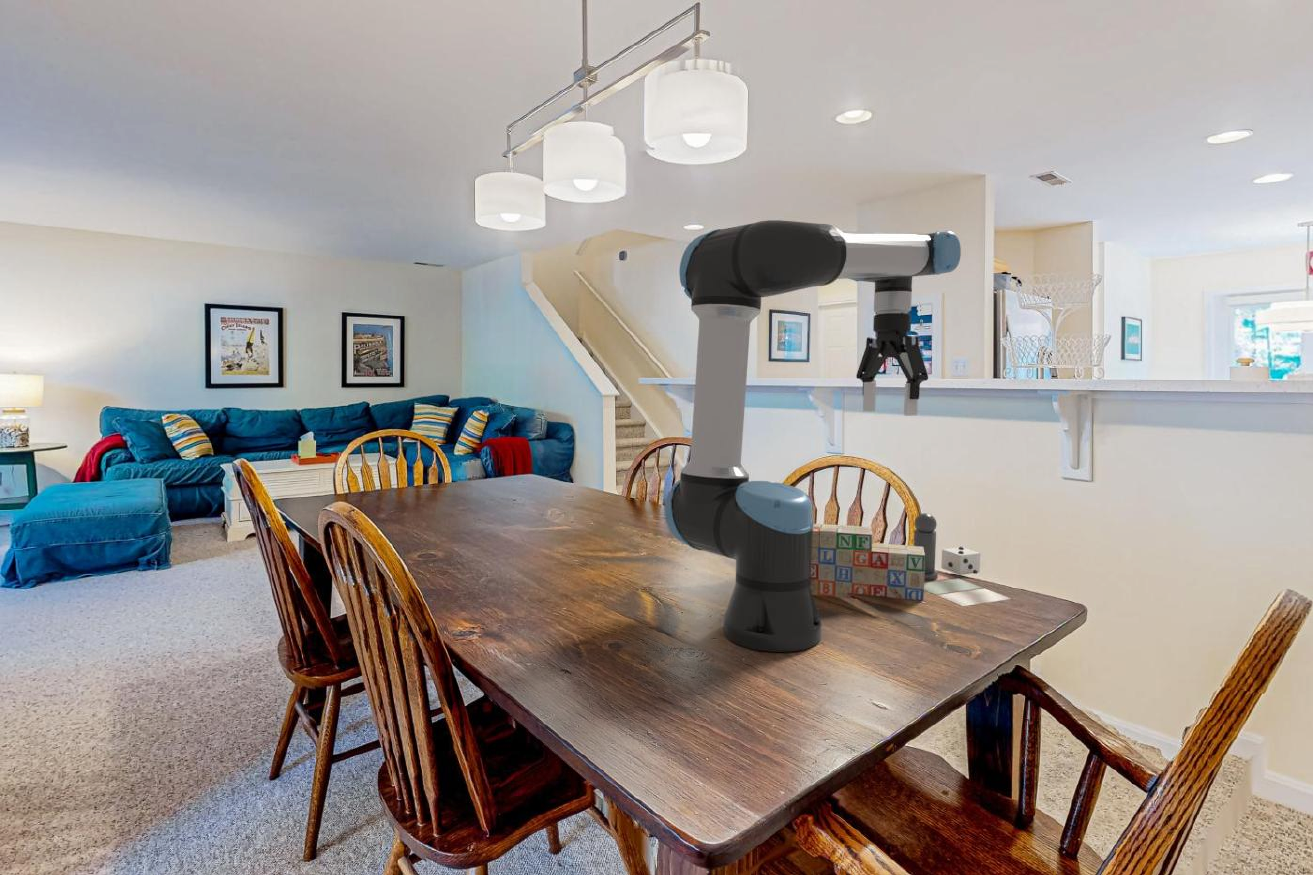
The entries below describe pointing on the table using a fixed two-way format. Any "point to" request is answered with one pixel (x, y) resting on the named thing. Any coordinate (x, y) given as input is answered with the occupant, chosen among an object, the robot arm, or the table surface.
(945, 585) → the board
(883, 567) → the stack of blocks
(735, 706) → the table surface
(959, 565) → the die
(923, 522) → the pawn
